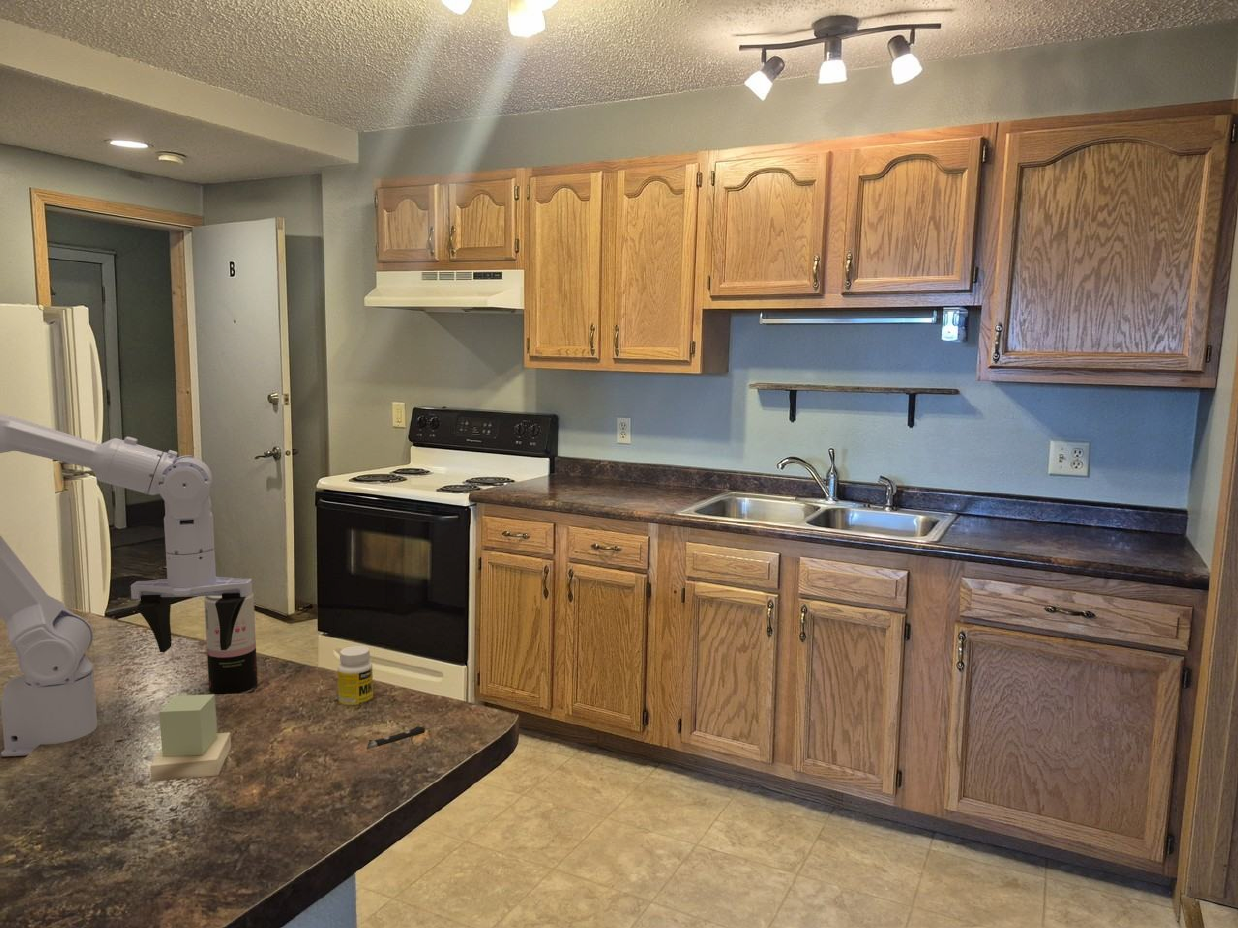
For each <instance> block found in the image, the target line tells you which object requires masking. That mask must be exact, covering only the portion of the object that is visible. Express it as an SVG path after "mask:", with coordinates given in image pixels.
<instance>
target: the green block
mask: <svg viewBox="0 0 1238 928" xmlns="http://www.w3.org/2000/svg"><path fill="white" fill-rule="evenodd" d="M216 710H217V709H216V696H215V694H212V693H210V694H191V695H190V694H188V695H175V696H174V697H173V698H171V700H169V702H168V703H167V704H166V705H165V706H163V708H161V709H160V710H159V711H158V715H159V728H160V729H159V730H160V739H161V741H160V742H161V748H162V755H163V757H170V756H192V755H204V753H205V752H206V751H207V750H208V748H209V747H210V746H211V745H212V743H213V742H214V741H215V740H216V739H217V734H218V726H217V722H218V721H217V711H216Z"/></svg>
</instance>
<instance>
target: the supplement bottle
mask: <svg viewBox="0 0 1238 928" xmlns="http://www.w3.org/2000/svg"><path fill="white" fill-rule="evenodd" d="M370 657H371V653H370V648H369V647H367V646H364V645H351V646H348V647H344V648H342V649H341V650H339V662H340V663H339V664H338V666H337V669H336V670H337V697H338V698H337V700H338V702H339V704H342V705H346V706H357V705H362V704H365V703H368V702H369V701H371V700H372V699H373V697H374V687H373V685H374V684H373V683H374V682H373V679H374V678H373V674H374V673H373V662H372V661H371V660H370Z"/></svg>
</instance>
